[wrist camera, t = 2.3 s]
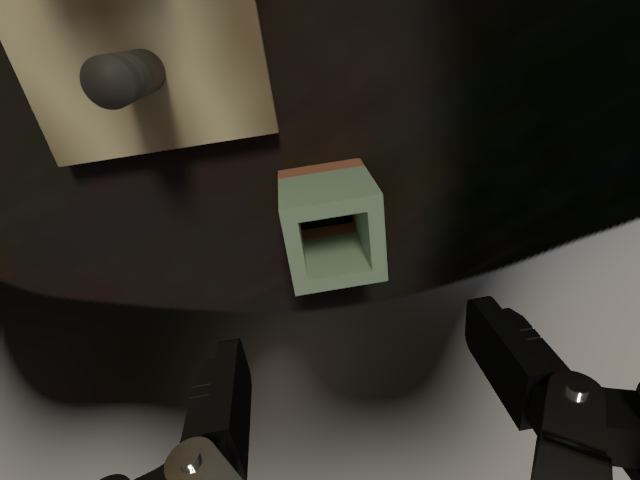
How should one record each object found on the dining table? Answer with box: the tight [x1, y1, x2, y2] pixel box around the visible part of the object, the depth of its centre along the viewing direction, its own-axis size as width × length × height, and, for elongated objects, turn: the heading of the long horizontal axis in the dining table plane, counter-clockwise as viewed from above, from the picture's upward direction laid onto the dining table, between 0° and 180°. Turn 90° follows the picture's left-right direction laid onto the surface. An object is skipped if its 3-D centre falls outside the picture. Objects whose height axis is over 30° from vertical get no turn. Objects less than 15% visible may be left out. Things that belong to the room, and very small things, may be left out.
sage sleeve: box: [278, 158, 388, 296], centre depth 23 cm, size 5×5×6 cm
